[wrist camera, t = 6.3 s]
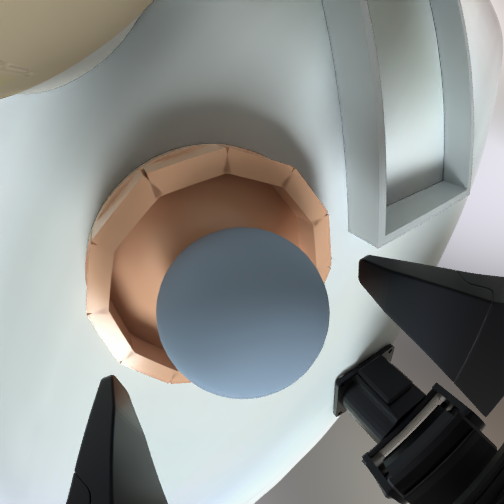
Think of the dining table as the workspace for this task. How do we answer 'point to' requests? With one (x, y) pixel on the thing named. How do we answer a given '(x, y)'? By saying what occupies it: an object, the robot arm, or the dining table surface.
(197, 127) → the dining table surface
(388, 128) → the dining table surface
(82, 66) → the coffee cup
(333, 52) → the shallow serving tray
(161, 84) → the dining table surface
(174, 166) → the bowl
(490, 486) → the robot arm
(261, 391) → the ball
